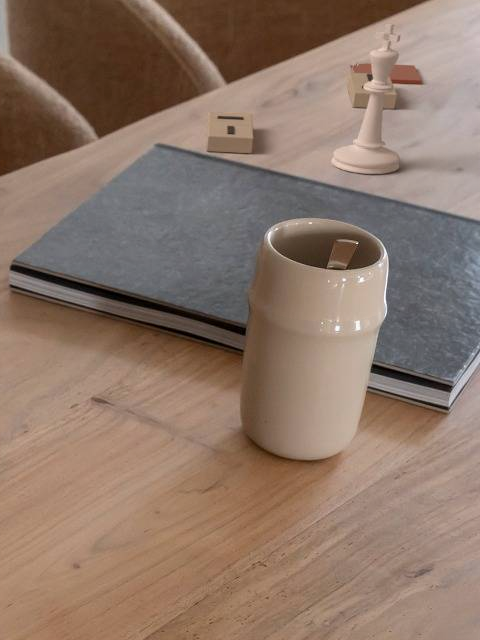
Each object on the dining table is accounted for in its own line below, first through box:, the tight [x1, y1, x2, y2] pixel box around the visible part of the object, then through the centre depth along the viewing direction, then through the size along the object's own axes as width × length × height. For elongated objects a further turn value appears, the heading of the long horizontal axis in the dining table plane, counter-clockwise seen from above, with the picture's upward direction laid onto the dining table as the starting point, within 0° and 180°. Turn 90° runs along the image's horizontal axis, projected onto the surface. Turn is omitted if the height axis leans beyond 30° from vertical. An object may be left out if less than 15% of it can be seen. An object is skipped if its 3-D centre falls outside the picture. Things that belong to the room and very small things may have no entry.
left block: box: [206, 111, 254, 154], centre depth 115 cm, size 3×7×1 cm, turn 169°
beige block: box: [346, 72, 398, 110], centre depth 125 cm, size 3×7×1 cm, turn 169°
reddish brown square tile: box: [352, 62, 422, 85], centre depth 132 cm, size 6×6×1 cm
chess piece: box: [330, 23, 402, 175], centre depth 107 cm, size 5×5×10 cm
